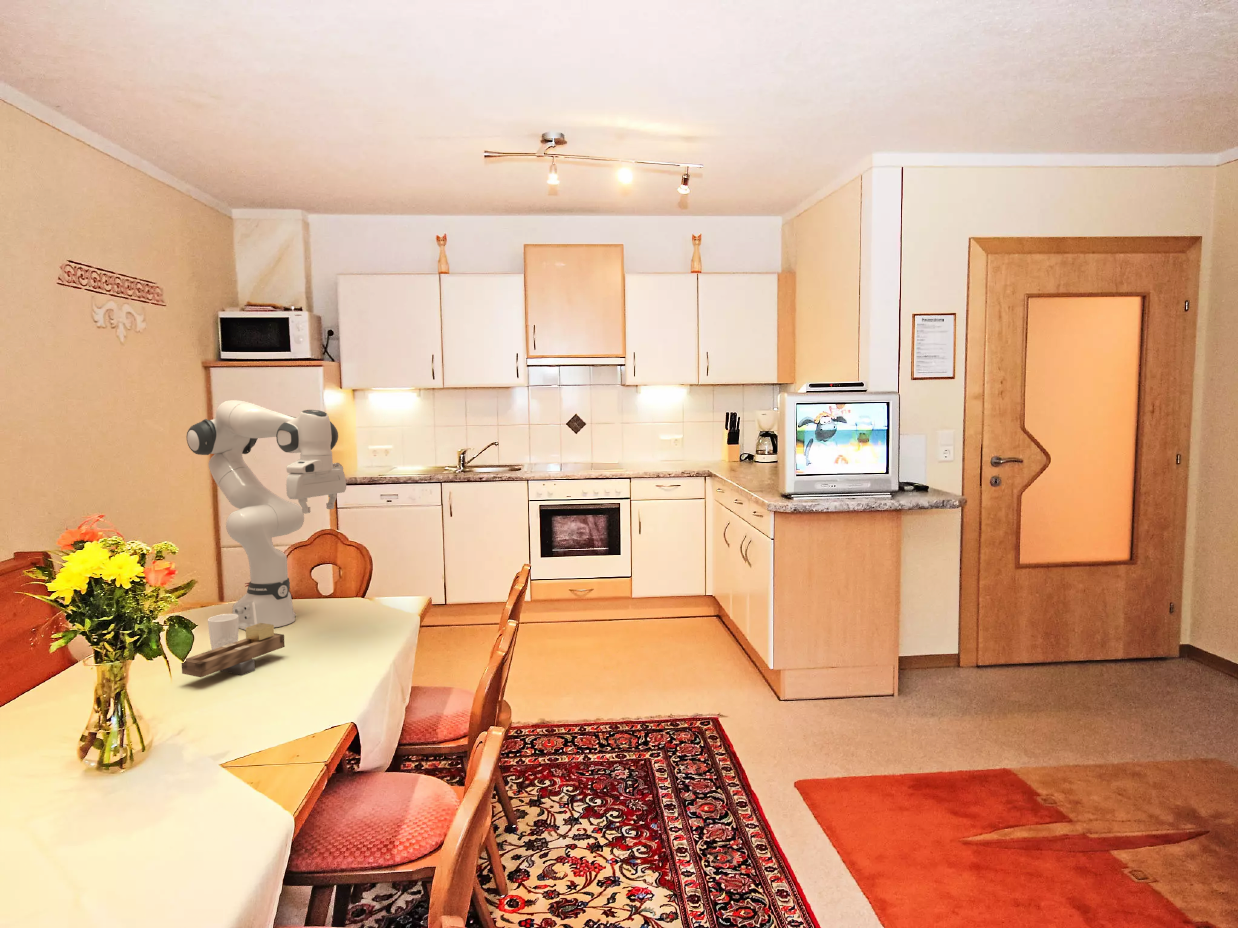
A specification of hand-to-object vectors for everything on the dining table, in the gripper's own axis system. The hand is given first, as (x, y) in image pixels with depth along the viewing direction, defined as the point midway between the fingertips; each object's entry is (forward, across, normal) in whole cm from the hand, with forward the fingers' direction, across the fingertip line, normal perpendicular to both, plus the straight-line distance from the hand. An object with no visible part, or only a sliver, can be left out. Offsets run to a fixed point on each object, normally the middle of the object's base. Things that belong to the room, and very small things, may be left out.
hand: (318, 511), depth 228 cm
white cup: (+40, +19, -19) cm, 48 cm away
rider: (+35, +21, -2) cm, 41 cm away
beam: (+39, +29, -2) cm, 49 cm away
